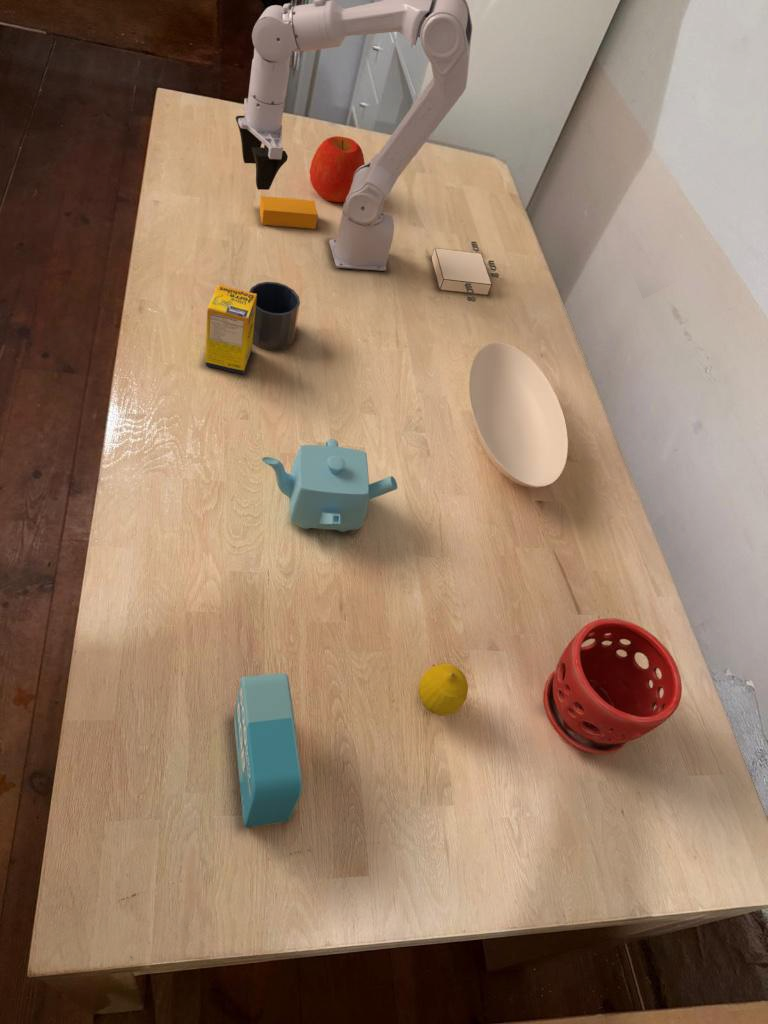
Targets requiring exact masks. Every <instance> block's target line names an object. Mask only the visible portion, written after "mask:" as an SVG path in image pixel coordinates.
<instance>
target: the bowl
mask: <svg viewBox="0 0 768 1024" xmlns="http://www.w3.org/2000/svg"><path fill="white" fill-rule="evenodd" d="M469 369H470V370H469V373H468V374H469V375H468V398H469V399H468V400H469V407H470V412H471V417H472V422H473V426H474V429H475V432H476V435H477V437H478V440H479V443H480V444H481V447H482V448H483V450H484V452H485V454H486V455H487V457H488V459H489V460H490V461H491V463H492V464H493V465H494V467H495V468H496V469H497V471H499V472H500V473H501V474H502V475H503V476H504V477H505V478H507V479H508V480H510V481H511V482H513V483H515V484H518V485H520V486H523V487H528V488H544V487H548V486H550V485H552V484H553V483H554V482H556V481H557V480H558V479H559V477H560V476H561V474H562V473H563V471H564V469H565V466H566V463H567V458H568V453H569V451H568V450H569V440H568V439H569V437H568V430H567V424H566V420H565V415H564V412H563V409H562V406H561V404H560V402H559V398H558V396H557V394H556V392H555V391H554V388H553V386H552V385H551V383H550V381H549V380H548V378H547V376H546V375H545V373H544V371H542V370H541V368H540V366H538V365H537V363H535V361H534V360H533V359H532V358H531V357H529V356H528V355H527V354H526V353H525V352H523V351H522V350H520V349H519V348H517V347H515V346H514V345H512V344H508V343H505V342H492V343H488V344H485V345H484V346H483V347H482V348H480V349H479V350H478V351H477V353H476V354H475V355H474V358H473V360H472V363H471V365H470V368H469Z"/></svg>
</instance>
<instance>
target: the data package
mask: <svg viewBox="0 0 768 1024" xmlns="http://www.w3.org/2000/svg"><path fill="white" fill-rule="evenodd" d="M292 699H293V698H292V692H291V685H290V680H289V676H288V674H287V673H286V672H278V673H267V674H259V675H258V674H256V675H248V676H242V677H241V678H240V681H239V686H238V692H237V698H236V702H235V703H236V704H235V710H234V717H233V719H234V720H233V723H234V725H233V726H234V736H235V746H236V748H235V749H236V757H237V759H236V760H237V769H238V779H239V790H240V791H239V792H240V802H241V803H240V804H241V812H242V813H241V814H242V822H243V826H244V827H245V828H254V827H260V826H267V825H271V824H272V825H274V824H280V823H285V822H287V823H288V822H289V821H290V820H291V818H292V815H293V814H294V811H295V809H296V806H297V805H298V803H299V800H300V798H301V796H302V794H303V773H302V763H301V757H300V751H299V744H298V736H297V728H296V722H295V713H294V707H293V702H292Z"/></svg>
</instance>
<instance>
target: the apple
mask: <svg viewBox="0 0 768 1024" xmlns="http://www.w3.org/2000/svg"><path fill="white" fill-rule="evenodd" d="M310 162H311V163H310V168H309V179H310V183H311V185H312V188H313V189H314V190H315V192H316V193H317V194H318V196H320V197H322V198H323V199H324V200H325V201H326V200H327V201H330V202H334V203H345V200H346V198H347V195H348V194H349V191H350V188H351V185H352V182H353V176H354V174H355V172H356V170H357V169H358V168H359V167H361V166H362V165H365V164H366V163H365V156H364V153H363V150H362V147H361V146H360V144H359V143H357V142H356V141H355V140H354V139H352V138H349V137H346V136H340V135H339V136H338V135H337V136H336V135H334V136H331V137H328V138H327V139H325V140H323V141H322V142H321V144H320V145H319V146H318V147H317V149H316V151H315V153H314V155H313V157H312V160H311V161H310Z"/></svg>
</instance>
